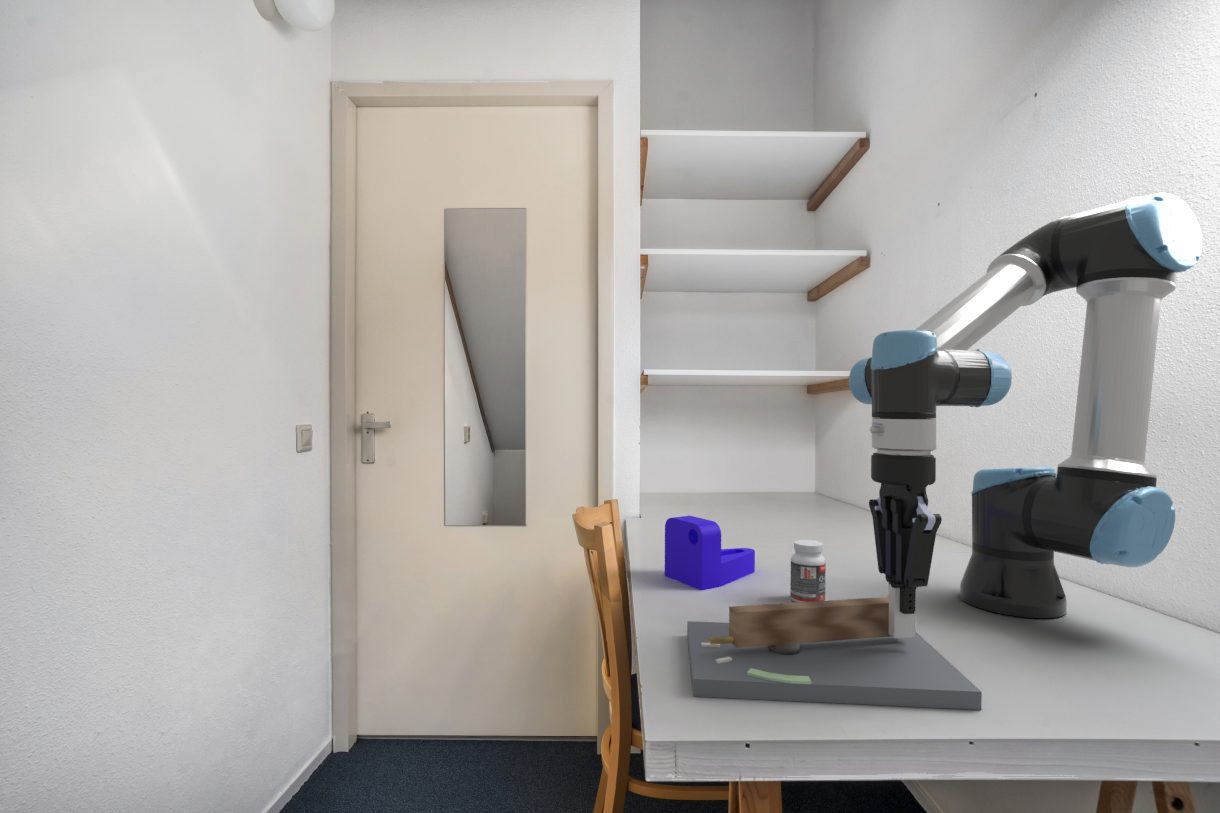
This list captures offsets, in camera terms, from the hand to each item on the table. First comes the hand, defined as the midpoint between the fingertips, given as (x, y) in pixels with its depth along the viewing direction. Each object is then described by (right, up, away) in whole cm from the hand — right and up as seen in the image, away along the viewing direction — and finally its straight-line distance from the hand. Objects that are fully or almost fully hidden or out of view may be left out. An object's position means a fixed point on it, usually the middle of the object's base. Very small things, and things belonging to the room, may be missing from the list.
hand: (901, 635), depth 81 cm
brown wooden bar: (-11, -2, +1) cm, 12 cm away
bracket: (-16, -4, +41) cm, 45 cm away
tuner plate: (-11, -4, -1) cm, 12 cm away
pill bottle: (-4, -4, +26) cm, 27 cm away
